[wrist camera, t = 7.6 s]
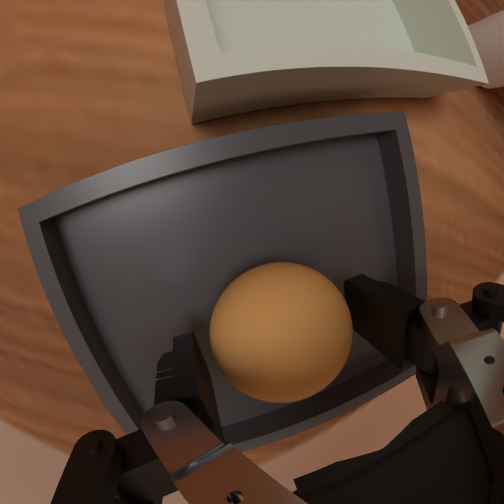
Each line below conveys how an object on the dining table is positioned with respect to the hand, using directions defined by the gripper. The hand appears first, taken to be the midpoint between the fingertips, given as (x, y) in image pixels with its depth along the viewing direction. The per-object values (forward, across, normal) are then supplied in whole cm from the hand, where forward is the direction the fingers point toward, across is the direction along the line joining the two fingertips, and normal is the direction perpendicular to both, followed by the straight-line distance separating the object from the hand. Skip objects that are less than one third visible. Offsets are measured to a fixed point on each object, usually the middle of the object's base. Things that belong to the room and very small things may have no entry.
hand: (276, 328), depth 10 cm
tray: (+3, 0, 0) cm, 3 cm away
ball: (+2, 0, 0) cm, 2 cm away
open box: (+3, -6, -15) cm, 16 cm away
